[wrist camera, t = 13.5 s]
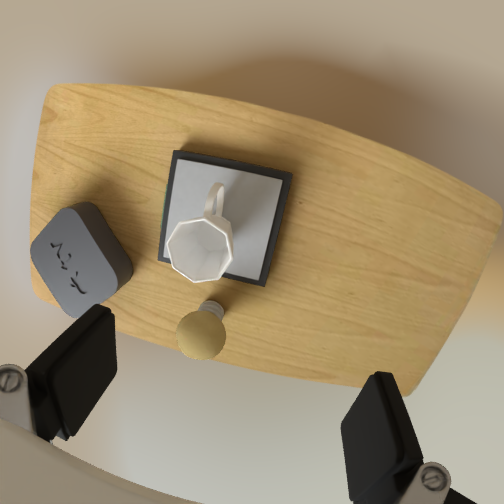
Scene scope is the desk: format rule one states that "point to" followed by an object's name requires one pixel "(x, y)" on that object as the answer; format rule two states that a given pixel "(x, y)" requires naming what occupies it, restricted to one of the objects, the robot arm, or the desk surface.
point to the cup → (203, 242)
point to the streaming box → (80, 259)
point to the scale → (229, 207)
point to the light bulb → (202, 332)
